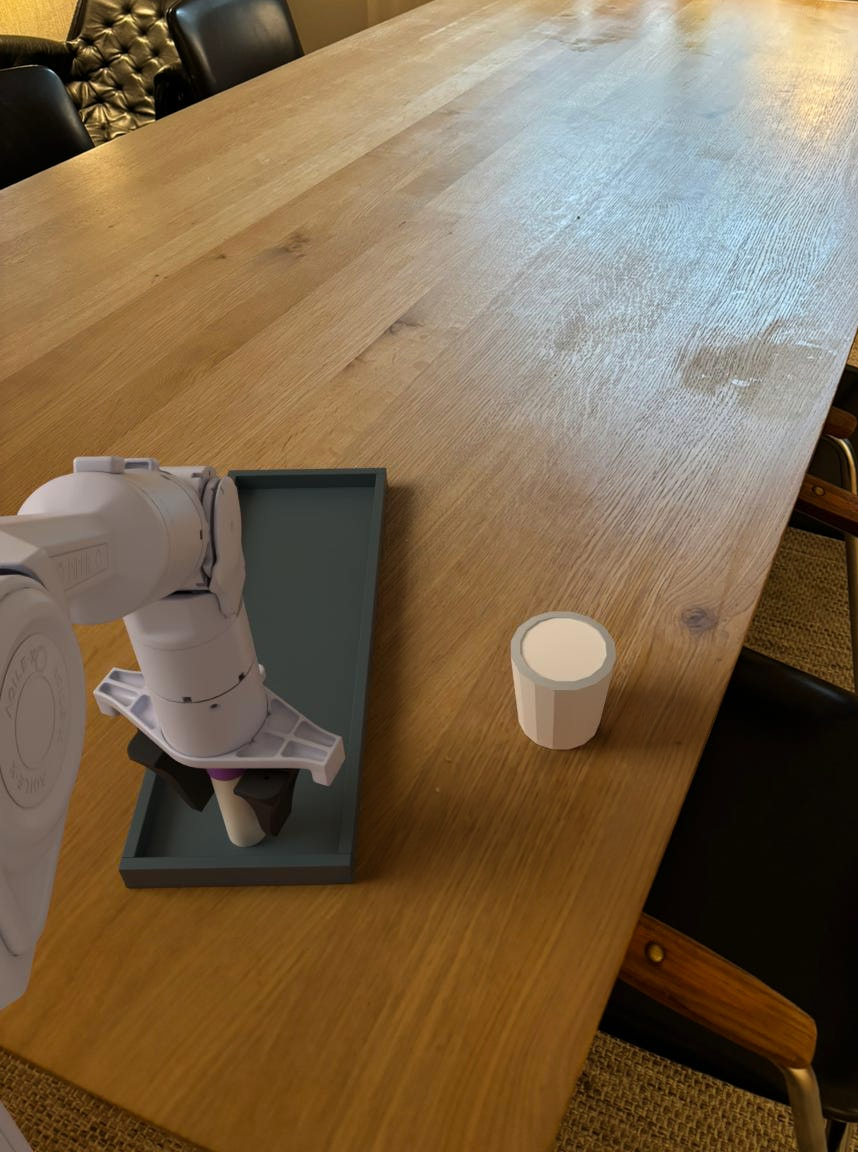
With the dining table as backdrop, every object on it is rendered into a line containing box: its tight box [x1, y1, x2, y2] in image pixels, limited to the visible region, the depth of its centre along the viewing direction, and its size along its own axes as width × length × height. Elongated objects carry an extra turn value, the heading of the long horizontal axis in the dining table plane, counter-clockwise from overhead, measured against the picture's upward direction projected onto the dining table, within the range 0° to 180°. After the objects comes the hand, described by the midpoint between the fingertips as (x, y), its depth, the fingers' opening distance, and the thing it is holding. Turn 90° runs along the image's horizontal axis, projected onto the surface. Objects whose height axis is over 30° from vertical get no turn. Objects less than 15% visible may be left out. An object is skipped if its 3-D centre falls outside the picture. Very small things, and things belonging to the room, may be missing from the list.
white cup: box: [510, 610, 617, 750], centre depth 68 cm, size 7×7×7 cm
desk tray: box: [117, 467, 389, 889], centre depth 75 cm, size 38×14×2 cm, turn 1°
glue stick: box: [206, 768, 266, 847], centre depth 61 cm, size 3×3×9 cm
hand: (242, 809), depth 62 cm, fingers open, 4 cm apart
